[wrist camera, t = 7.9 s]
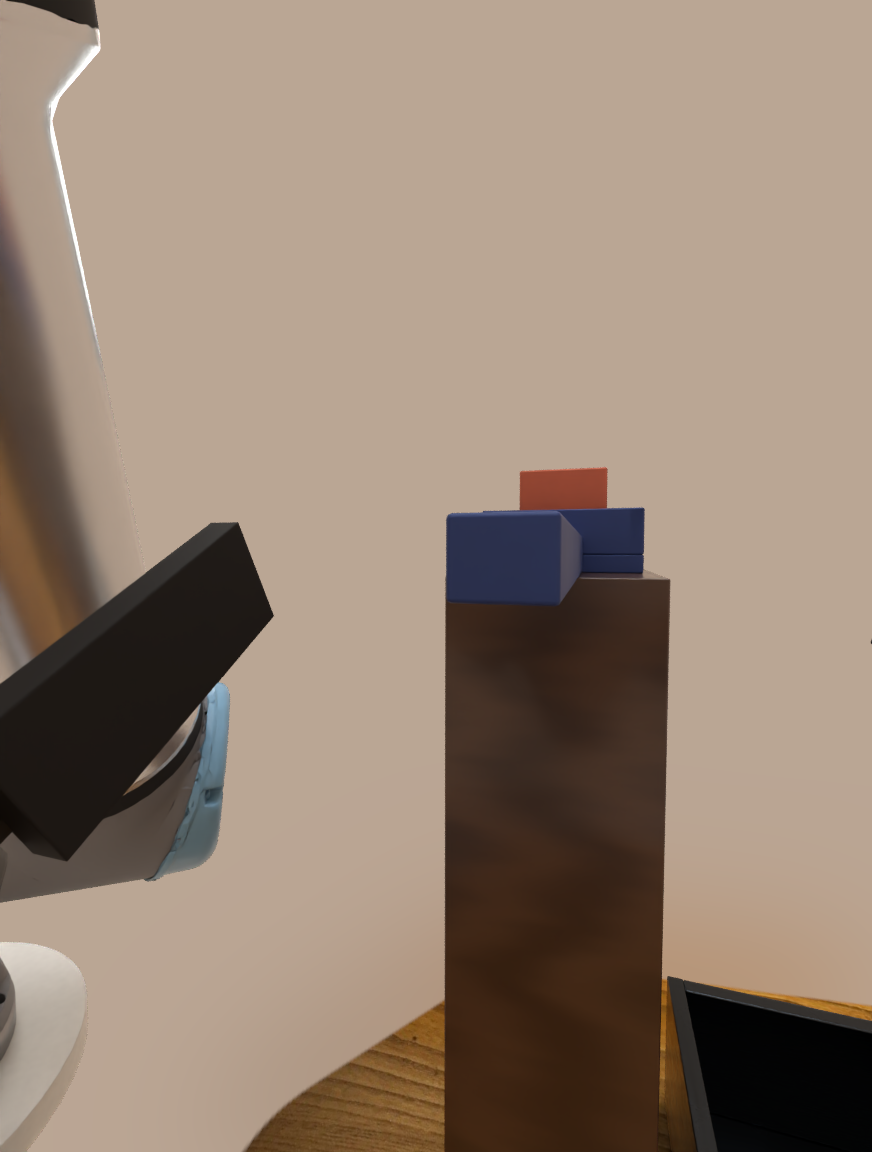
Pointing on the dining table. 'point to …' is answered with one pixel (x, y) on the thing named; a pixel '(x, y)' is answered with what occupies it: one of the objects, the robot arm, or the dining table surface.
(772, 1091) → the black square open box
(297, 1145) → the dining table surface
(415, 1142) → the dining table surface
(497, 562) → the blue long-handled scoop
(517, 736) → the stand
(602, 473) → the block
